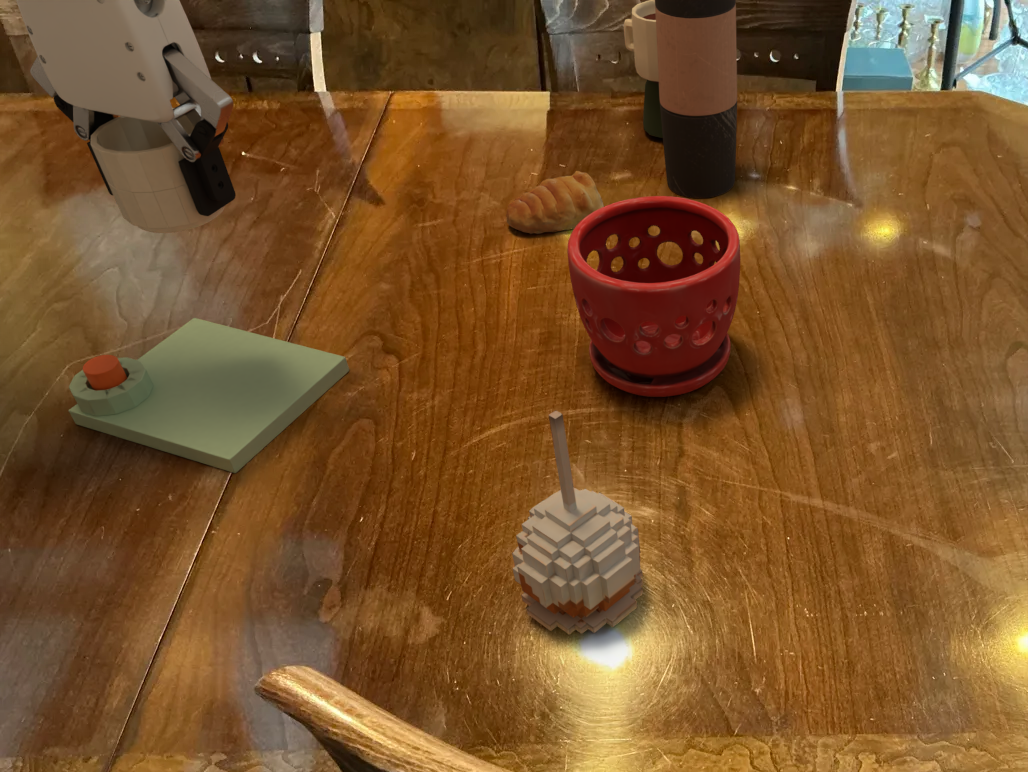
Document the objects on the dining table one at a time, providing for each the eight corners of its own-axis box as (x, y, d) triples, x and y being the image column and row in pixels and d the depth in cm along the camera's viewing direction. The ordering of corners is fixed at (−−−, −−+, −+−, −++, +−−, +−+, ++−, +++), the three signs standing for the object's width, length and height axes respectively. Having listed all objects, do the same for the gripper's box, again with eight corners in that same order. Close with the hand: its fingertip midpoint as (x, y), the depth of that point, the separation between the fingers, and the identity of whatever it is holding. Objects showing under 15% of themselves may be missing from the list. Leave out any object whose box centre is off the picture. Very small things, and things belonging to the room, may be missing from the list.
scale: (68, 422, 85) (51, 391, 83) (193, 329, 94) (180, 299, 92) (235, 473, 80) (221, 442, 78) (350, 370, 89) (340, 340, 87)
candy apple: (586, 535, 75) (559, 357, 64) (667, 588, 71) (653, 409, 61) (500, 599, 71) (457, 420, 60) (582, 658, 67) (550, 479, 57)
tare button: (84, 388, 84) (74, 369, 83) (109, 369, 86) (100, 351, 84) (109, 395, 83) (100, 377, 82) (134, 376, 85) (125, 358, 84)
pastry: (524, 247, 103) (518, 210, 101) (496, 218, 107) (490, 182, 105) (611, 220, 107) (607, 184, 104) (581, 193, 111) (576, 158, 108)
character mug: (729, 130, 121) (727, 7, 112) (694, 154, 117) (689, 29, 107) (649, 109, 125) (642, -10, 116) (613, 132, 121) (602, 10, 112)
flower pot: (551, 362, 90) (531, 231, 81) (675, 305, 96) (668, 177, 87) (646, 437, 82) (635, 303, 74) (773, 370, 88) (776, 238, 80)
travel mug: (706, 158, 116) (700, -44, 102) (752, 183, 112) (753, -24, 97) (649, 180, 112) (635, -26, 98) (695, 207, 108) (687, -5, 94)
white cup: (104, 226, 76) (66, 143, 72) (177, 181, 81) (145, 101, 76) (183, 244, 74) (149, 160, 70) (253, 197, 78) (225, 116, 74)
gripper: (220, -85, 64) (306, 194, 76) (5, -110, 69) (120, 156, 81) (125, -47, 59) (235, 244, 71) (-98, -77, 64) (41, 200, 76)
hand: (173, 195), depth 76 cm, fingers closed on white cup, 7 cm apart
